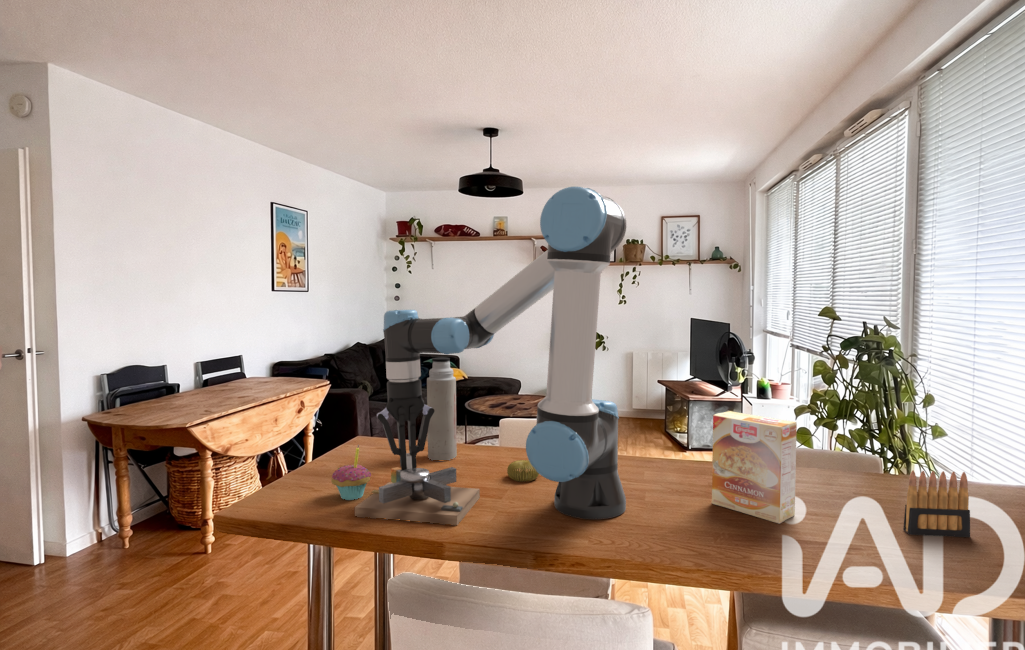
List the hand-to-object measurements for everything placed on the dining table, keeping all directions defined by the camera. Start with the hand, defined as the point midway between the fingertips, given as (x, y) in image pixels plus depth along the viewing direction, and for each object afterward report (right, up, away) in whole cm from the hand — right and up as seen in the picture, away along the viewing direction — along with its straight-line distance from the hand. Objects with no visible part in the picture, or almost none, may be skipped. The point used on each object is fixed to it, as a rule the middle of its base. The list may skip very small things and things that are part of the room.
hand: (409, 483), depth 130 cm
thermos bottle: (+4, -2, +32) cm, 32 cm away
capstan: (+3, -1, -6) cm, 7 cm away
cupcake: (-13, -3, +1) cm, 14 cm away
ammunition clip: (+103, -4, -21) cm, 105 cm away
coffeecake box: (+73, -3, -8) cm, 74 cm away
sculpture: (+26, -3, +13) cm, 29 cm away
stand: (+3, -3, -6) cm, 8 cm away
